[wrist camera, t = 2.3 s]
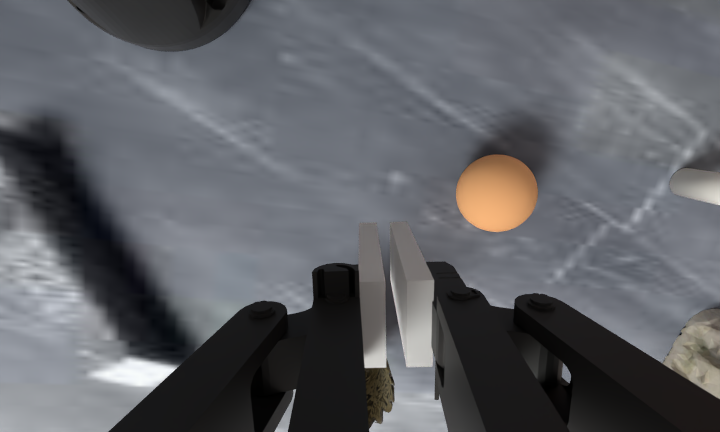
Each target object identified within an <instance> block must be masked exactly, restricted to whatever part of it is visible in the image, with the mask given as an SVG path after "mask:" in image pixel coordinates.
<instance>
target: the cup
mask: <svg viewBox="0 0 720 432" xmlns="http://www.w3.org/2000/svg"><path fill="white" fill-rule="evenodd" d="M365 380H366V394H367V409H368V423H369V428H370V427H371V425H372V424H373V422H374V421H377V423H379V424H381V423H382V422H383V410H384V411H385V412H388V413H389V412H390V411H391V409H392V405H393V404H392V402H394V386H393V385H394V380H393V377H392V374H391V371H390V368H389V364H388V361H387V358H386V368H365ZM375 423H376V422H375Z"/></svg>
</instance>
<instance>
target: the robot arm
mask: <svg viewBox="0 0 720 432" xmlns="http://www.w3.org/2000/svg"><path fill="white" fill-rule="evenodd" d="M68 1H69V3H70V4H71V5H72V6H73V7H74V8H75V9H76V10H77V11H78V12H79V13H81V14H82V15H83V16H84V17H85V18H86V19H87V20H89V21H90V22H91V23H93V24H94V25H96V26H97V27H98V28H100V29H102V30H103V31H105V32H107V33H108V34H110V35H112V36H114V37H116V38H119V39H121V40H124V41H126V42H129V43H132V44H135V45H138V46H141V47H144V48H147V49H151V50H157V51H170V52H174V51H184V50H190V49H194V48H197V47H200V46H203V45H205V44H207V43H209V42H211V41H213V40H215V39H216V38H218V37H219V36H221V35H222V34H223V33H225V32H226V31H227V30H228V29H229V28H230V27H231V26H232V25H233V24H234V23H235V22H236V21H237V20H238V18H239V17H240V16H241V14H242V13H243V12H244V10H245V8H246V7H247V5H248V3H249V1H250V0H68ZM312 279H313V296H314V300H313V305H312V308H310V309H308V310H306V311H303V312H299V313H295V314H289V315H287V309H286V307H285V305H283V304H281V303H278V302H273V301H268V302H267V301H260V302H255V303H253V304H251V305H248V306H246V307H244V308H243V309H241V310H240V311H238V312H237V313H236V314H235V315H234V316H233V317H232V318H231V319H230V320H229V321H228V322H227V323H225V324H224V325H223V326H222V327H221V328H220V329H219V330H218V331H217V332H216V333H215V334H214V335H213V336H211V337H210V338H209V339H208V340H207V341H206V342H205V343H204V344H203V345H202V346H201V347H200V348H198V349H197V350H196V351H195V352H194V353H193V354H192V355H191V356H190V357H189V358H188V359H187V360H185V361H184V362H183V363H182V364H181V365H180V366H179V367H178V368H177V369H176V370H175V371H174V372H173V373H171V374H170V375H169V376H168V377H167V378H166V379H165V380H164V381H163V382H162V383H161V384H160V385H158V386H157V387H156V388H155V389H154V390H153V391H152V392H151V393H150V394H149V395H148V396H147V397H145V398H144V399H143V400H142V401H141V402H140V403H139V404H138V405H137V406H136V407H135V408H134V409H133V410H131V411H130V412H129V413H128V414H127V415H126V416H125V417H124V418H123V419H122V420H121V421H120V422H118V423H117V424H116V425H115V426H114V427H113V428H112V429H111V430H110V431H109V432H274V431H275V429H276V428H277V426H278V424H279V422H280V420H281V418H282V417H283V415H284V413H285V411H286V409H287V407H288V406H289V404H290V402H291V400H292V397H293V390H294V389H296V393H295V398H294V403H293V409H292V414H291V419H290V424H289V429H288V432H369V423H368V409H367V394H366V380H365V368H386V292H385V276H384V269H383V263H382V256H381V249H380V243H379V236H378V230H377V223H359V265H350V264H345V263H332V264H326V265H322V266H319V267H317V268H315V269H314V270H313V272H312ZM390 280H391V286H392V291H393V296H394V302H395V307H396V313H397V318H398V323H399V329H400V334H401V339H402V345H403V350H404V355H405V361H406V366H407V367H432V362H433V353H434V356H435V359H436V363H435V400H439V394H440V398H441V403H442V407H443V411H444V415H445V419H446V423H447V428H448V432H720V399H719V398H717V397H715V396H714V395H712V394H710V393H709V392H707V391H706V390H704V389H702V388H701V387H699V386H698V385H696V384H694V383H693V382H691V381H690V380H688V379H686V378H685V377H683V376H681V375H680V374H678V373H677V372H675V371H673V370H672V369H670V368H669V367H667V366H665V365H664V364H662V363H661V362H659V361H657V360H656V359H654V358H652V357H651V356H649V355H648V354H646V353H644V352H643V351H641V350H640V349H638V348H636V347H635V346H633V345H631V344H630V343H628V342H627V341H625V340H623V339H622V338H620V337H619V336H617V335H615V334H614V333H612V332H611V331H609V330H607V329H606V328H604V327H602V326H601V325H599V324H598V323H596V322H594V321H593V320H591V319H590V318H588V317H586V316H585V315H583V314H582V313H580V312H578V311H577V310H575V309H573V308H572V307H570V306H569V305H567V304H565V303H564V302H562V301H560V300H558V299H556V298H553V297H549V296H547V295H545V294H540V295H539V294H538V293H533V294H525V295H521V296H518V297H517V298H516V299H515V305H514V309H509V308H501V307H495V306H491V305H490V304H489V303H488V301H487V299H486V298H485V296H484V295H483V294H482V293H481V292H480V291H478V290H476V289H473V288H469V287H466V285H465V284H464V282H463V281H462V279H461V278H460V276H459V274H458V273H457V271H456V270H455V268H454V267H453V266H452V265H450V264H448V263H446V262H425V259H424V257H423V255H422V253H421V251H420V249H419V246H418V244H417V242H416V240H415V238H414V236H413V234H412V231H411V229H410V227H409V225H408V223H407V222H390ZM563 363H564V364H565V365H566V366H567V368H568V370H569V371H570V373H571V381H570V384H569V383H568V382H567V381H565V380H564V379H563V378H562V368H563Z"/></svg>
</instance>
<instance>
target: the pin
mask: <svg viewBox="0 0 720 432" xmlns="http://www.w3.org/2000/svg"><path fill="white" fill-rule="evenodd" d="M670 189H671V191H672V192H673V193H674V194H675V195H678V196H682V197H686V198H690V199H695V200H699V201H703V202H708V203H712V204H716V205H720V172H712V171H705V170H698V169H691V168H683V169H680V170H678V171H677V172H675V173H674V175H673V176H672V177H671V180H670Z"/></svg>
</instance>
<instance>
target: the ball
mask: <svg viewBox="0 0 720 432" xmlns="http://www.w3.org/2000/svg"><path fill="white" fill-rule="evenodd" d="M537 197H538V187H537V183H536V180H535V177H534V175H533V173H532V172H531V170H530V169H529V168H528V167H527V166H526V165H525V164H524V163H523V162H521V161H520V160H518V159H516V158H514V157H511V156H507V155H497V154H496V155H489V156H485V157H482V158H480V159H478V160H476V161H474V162H473V163H471V164H470V165H469V166H468V167H467V168H466V169H465V170H464V172H463V173H462V174H461V176H460V178H459V181H458V184H457V188H456V199H457V204H458V207H459V209H460V211H461V213H462V214H463V216H464V217H465V218H466V219H467V220H468V221H469V222H470V223H471V224H473V225H474V226H476V227H478V228H480V229H483V230H486V231H491V232H500V231H506V230H510V229H513V228H515V227H517V226H519V225H520V224H522V223H523V222H524V221H525V220H526V219H527V218H528V217H529V216H530V215H531V213H532V211H533V210H534V208H535V205H536V202H537Z"/></svg>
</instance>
